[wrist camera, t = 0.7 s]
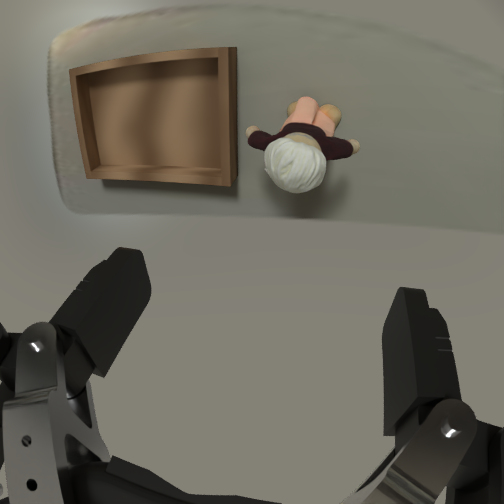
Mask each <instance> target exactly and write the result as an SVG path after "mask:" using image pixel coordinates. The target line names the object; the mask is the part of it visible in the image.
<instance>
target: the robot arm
mask: <svg viewBox="0 0 504 504" xmlns="http://www.w3.org/2000/svg"><path fill="white" fill-rule="evenodd" d="M150 296H151V283H150V280H149V276H148V273H147V268H146V264H145V261H144V256H143V253H142V252H141V251H140V250H136V249H130V248H123V247H119V248H117V249H116V250H115V251H114V252H113V253H112V254H111V255H110V257H109V258H108V259H107V260H104V261H102V262H101V263H99V264H98V265H96V266H95V267H93V268H92V269H91V270H90V271H89V272H88V274H87V275H86V276H85V277H84V279H83V281H81V282H80V283H79V284H78V286H77V287H76V290H74V291H73V292H72V293H71V295H70V296H69V297H68V298H67V299H66V301H65V302H64V303H63V305H62V306H61V307H60V308H59V310H58V311H57V312H56V314H55V315H54V316H53V318H52V319H51V320H50V321H49V322H48V323H47V322H38V323H35V324H32V325H31V326H29V327H28V328H27V329H25V331H24V332H23V333H7V332H6V330H5V328H4V327H3V326H2V324H1V323H0V380H1V381H2V383H1V384H0V469H1V467H2V465H3V462H4V461H5V472H6V480H7V488H8V495H9V497H6V498H4V499H1V500H0V504H281V503H274V502H269V501H263V500H257V499H252V498H247V497H241V496H237V495H235V496H234V495H233V496H232V495H231V496H229V495H226V496H225V495H220V496H219V495H195V494H188V493H185V492H183V491H181V490H180V489H178V488H176V487H175V486H173V485H171V484H170V483H168V482H167V481H165V480H163V479H162V478H160V477H159V476H157V475H156V474H154V473H153V472H151V471H150V470H148V469H145V468H142V467H140V466H137V465H135V464H132V463H130V462H127V461H125V460H122V459H120V458H118V457H115V456H112V458H110V455H109V452H108V449H107V447H106V445H105V443H104V441H103V440H102V438H101V436H100V433H99V429H98V425H97V420H96V414H95V409H94V403H93V397H92V390H91V385H90V381H89V380H88V379H89V378H90V376H91V374H92V373H93V374H96V375H98V376H101V377H103V378H104V377H105V376H106V374H107V372H108V370H109V369H110V367H111V365H112V363H113V362H114V360H115V358H116V356H117V355H118V353H119V351H120V349H121V348H122V346H123V344H124V342H125V341H126V339H127V337H128V336H129V334H130V332H131V331H132V329H133V327H134V325H135V324H136V322H137V321H138V319H139V317H140V316H141V314H142V312H143V311H144V309H145V307H146V306H147V304H148V302H149V300H150ZM449 337H450V336H449V332H448V328H447V324H446V321H445V320H444V318H443V317H442V315H441V314H440V312H439V311H438V310H437V309H435V308H429V305H428V301H427V297H426V293H425V291H424V290H423V289H414V288H406V287H400V288H399V289H398V291H397V293H396V296H395V299H394V301H393V303H392V306H391V308H390V311H389V313H388V316H387V318H386V320H385V323H384V327H383V333H382V350H383V376H384V436H395V446H394V447H393V448H392V450H391V451H390V452H389V453H388V455H387V456H386V457H385V458H384V459H383V460H382V461H381V463H380V464H379V465H378V466H377V467H376V468H375V469H374V471H373V472H372V473H371V474H370V475H369V476H368V477H367V478H366V479H365V480H364V481H363V482H362V483H361V484H360V485H359V487H358V488H357V489H356V490H355V491H354V492H353V493H352V494H350V495H349V496H348V497H347V498H346V499H345V500H343V501H342V502H341V503H340V504H434V503H435V501H436V499H437V498H438V496H439V495H440V493H441V492H442V490H443V489H444V487H445V486H447V490H446V502H445V504H504V427H503V428H501V427H498V426H494V425H491V424H487V423H485V422H482V421H479V420H477V419H476V416H475V414H474V412H473V410H472V409H471V408H470V406H469V405H467V404H466V403H464V402H463V401H462V399H461V394H460V388H459V381H458V375H457V370H456V365H455V360H454V355H453V352H452V345H451V341H450V340H449ZM2 493H3V487H2V485H1V484H0V496H1V495H2Z"/></svg>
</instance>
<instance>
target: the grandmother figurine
mask: <svg viewBox="0 0 504 504" xmlns="http://www.w3.org/2000/svg"><path fill="white" fill-rule="evenodd" d="M287 114H288V118H287V120H286V121H285V123H284V124H283V126H282V128H281V129H280V132H279V133H278V134H276V135H273V136H272V135H270V134H268V133H266V132H263V131H260V129H259V128H258V127H256V126H250V127H248V128H247V130H246V136H247V137H248V144H249V145H250V146H251V147H253V148H256V149H260V150H263V151H265V165H266V169H265V170H266V172H267V173H268V174H269V176H270V177H271V179H272V180H273V181H274V183H275V184H276V185H277V186H278V187H280V188H281V189H283V190H285V191H289V192H291V193H302V192H307V191H309V190H311V189H313V188H315V187H317V186H319V185H320V184H321V182H322V180H323V178H324V175H325V172H326V161H327V160H337V159H342V158H348V157H350V156H351V155H352V154H355V153H357V152H358V151H359V149H360V145H359V143H358V141H356V140H354V139H350V140H344V139H340V138H336V137H333V135H334V131H335V128H336V126H337V125H338V123H339V122H340V119H341V112H340V110H339V109H338V108H337V107H335V106H333V105H330V104H326V105H323V106H321V107H320V108H319V106H318V104H317V102H316V101H315V100H314V99H312V98H310V97H301V98H300V99H299V100H298V102H293V103H291V104H290V105H289V107H288V109H287Z"/></svg>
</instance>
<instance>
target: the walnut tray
mask: <svg viewBox="0 0 504 504" xmlns="http://www.w3.org/2000/svg"><path fill="white" fill-rule="evenodd" d="M69 75H70V84H71V92H72V100H73V107H74V114H75V120H76V126H77V132H78V138H79V143H80V149H81V154H82V159H83V164H84V168H85V173H86V178H87V179H118V180H142V181H161V182H178V183H192V184H206V185H218V186H230V187H231V185H232V184H233V182H234V180H235V179H236V177H237V176H238V156H237V47H220V48H200V49H187V50H176V51H167V52H158V53H150V54H143V55H137V56H130V57H125V58H119V59H114V60H108V61H104V62H99V63H94V64H90V65H85V66H81V67H77V68H73V69H70V70H69Z"/></svg>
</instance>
